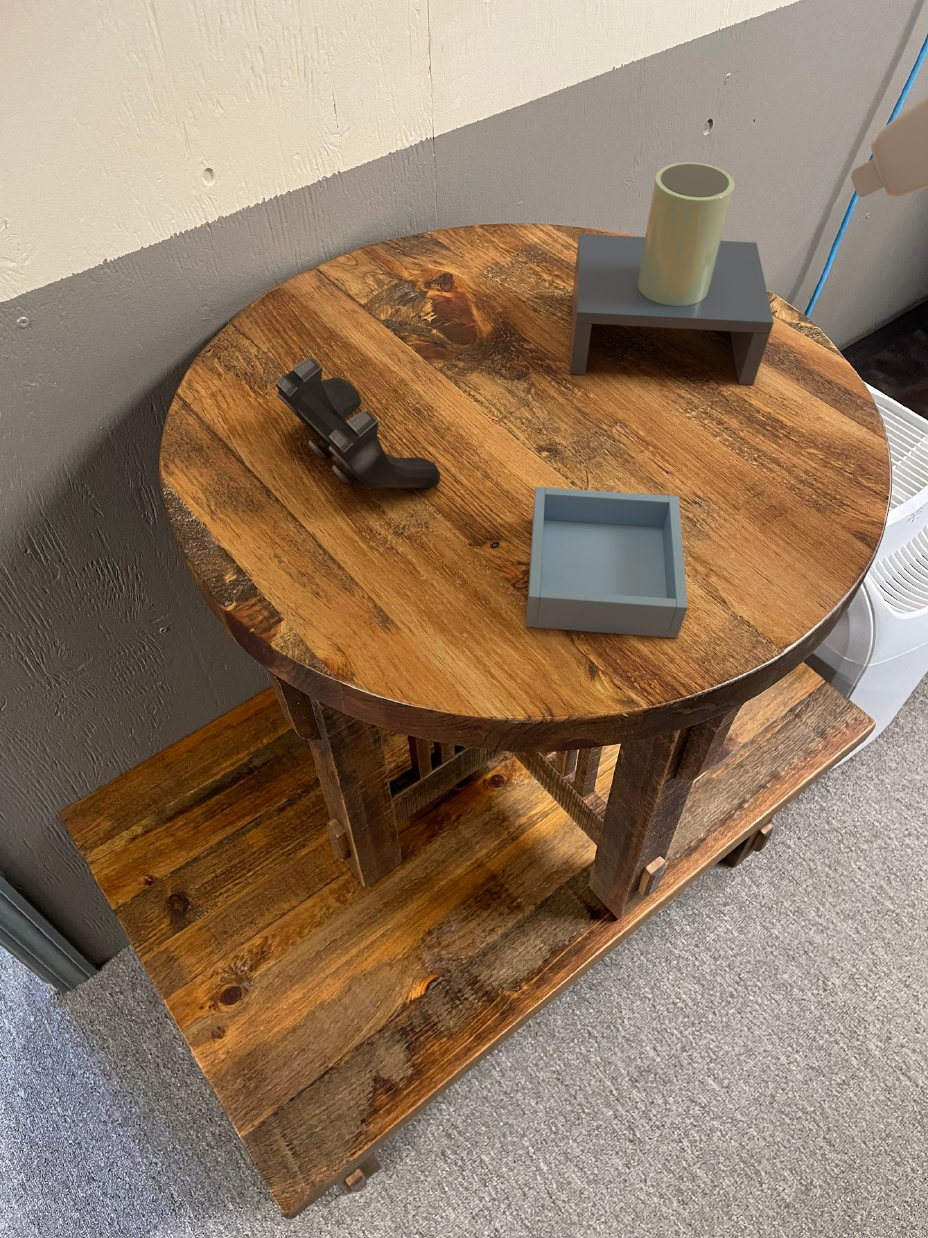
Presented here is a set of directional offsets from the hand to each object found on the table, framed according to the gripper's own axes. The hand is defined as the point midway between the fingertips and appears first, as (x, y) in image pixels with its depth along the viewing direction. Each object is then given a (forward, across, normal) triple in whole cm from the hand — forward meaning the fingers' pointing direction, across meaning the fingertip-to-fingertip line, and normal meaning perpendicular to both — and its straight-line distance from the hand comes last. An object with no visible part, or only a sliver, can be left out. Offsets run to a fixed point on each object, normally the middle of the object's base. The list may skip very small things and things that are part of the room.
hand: (905, 160), depth 57 cm
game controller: (+35, +31, +1) cm, 47 cm away
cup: (+27, -3, 0) cm, 27 cm away
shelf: (+33, -4, +4) cm, 34 cm away
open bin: (+19, +23, +18) cm, 35 cm away
